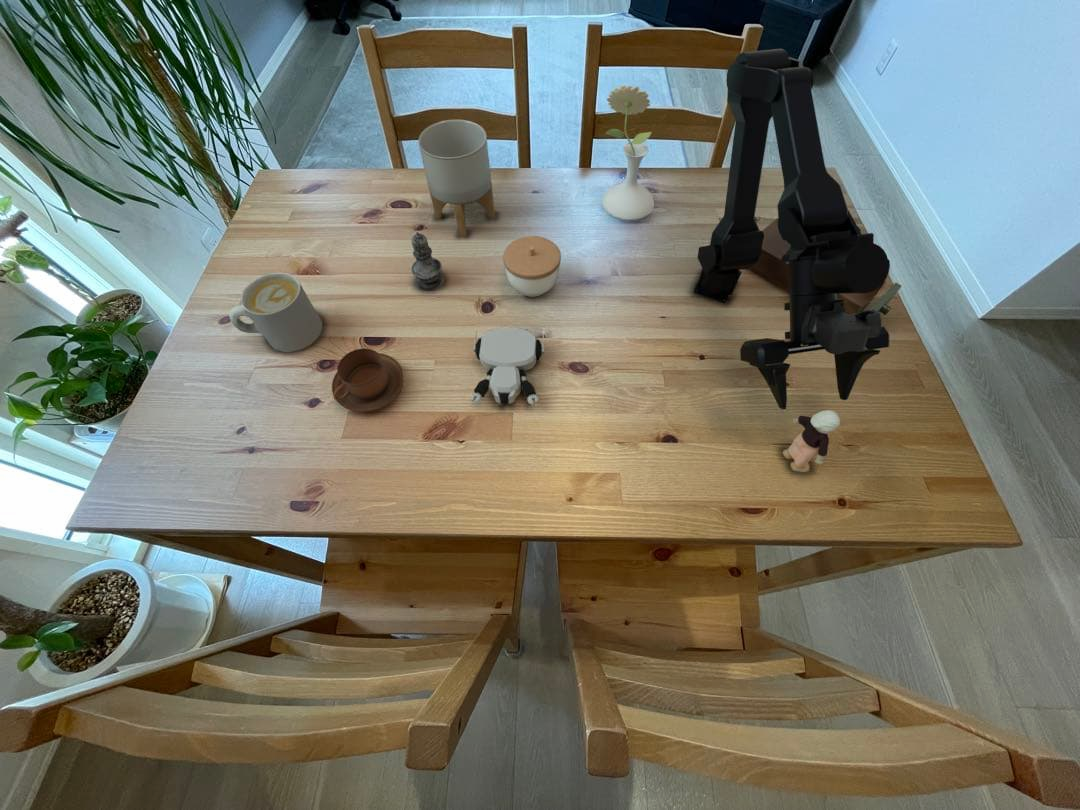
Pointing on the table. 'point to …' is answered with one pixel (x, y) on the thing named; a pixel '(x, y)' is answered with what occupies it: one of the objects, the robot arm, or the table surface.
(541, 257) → the trinket box
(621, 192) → the flower in vase
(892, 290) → the drawer
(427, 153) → the planter
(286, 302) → the coffee mug
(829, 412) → the grandmother figurine
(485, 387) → the robot toy
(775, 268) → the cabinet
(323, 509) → the table surface
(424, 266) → the stone statuette
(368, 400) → the cup and saucer
